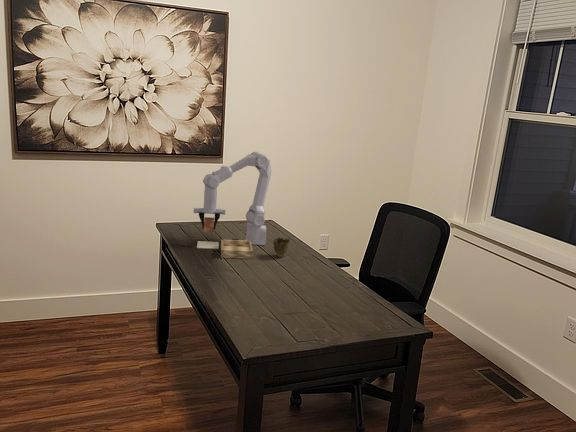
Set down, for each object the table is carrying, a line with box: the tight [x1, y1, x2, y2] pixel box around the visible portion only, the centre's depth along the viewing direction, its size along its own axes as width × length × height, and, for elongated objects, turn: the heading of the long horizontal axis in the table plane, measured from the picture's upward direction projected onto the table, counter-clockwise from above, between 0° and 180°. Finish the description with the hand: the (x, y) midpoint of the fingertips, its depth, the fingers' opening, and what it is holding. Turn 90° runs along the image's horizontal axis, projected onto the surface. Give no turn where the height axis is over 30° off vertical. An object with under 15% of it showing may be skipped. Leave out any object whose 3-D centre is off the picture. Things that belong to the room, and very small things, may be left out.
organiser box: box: [220, 239, 254, 260], centre depth 241 cm, size 14×16×4 cm
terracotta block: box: [203, 216, 215, 233], centre depth 246 cm, size 4×4×6 cm
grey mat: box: [196, 240, 220, 250], centre depth 248 cm, size 10×10×1 cm
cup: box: [273, 237, 290, 258], centre depth 241 cm, size 8×7×8 cm
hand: (208, 228), depth 246 cm, fingers closed on terracotta block, 4 cm apart
